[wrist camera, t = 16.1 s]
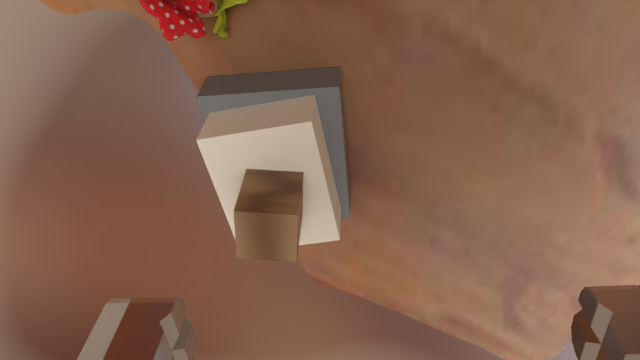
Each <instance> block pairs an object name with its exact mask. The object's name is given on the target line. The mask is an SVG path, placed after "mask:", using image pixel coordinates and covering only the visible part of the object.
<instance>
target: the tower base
mask: <svg viewBox="0 0 640 360" xmlns="http://www.w3.org/2000/svg"><path fill="white" fill-rule="evenodd" d="M311 95H315V98H316V102H317V107H318V111H319V115H320V120H321V124H322V128H323V133H324V137H325V141H326V146H327V150H328V154H329V159H330V163H331V167H332V172H333V176H334V180H335V185H336V189H337V193H338V198H339V202H340V206H341V219H347V218H350V186H349V173H348V161H347V148H346V136H345V123H344V110H343V98H342V85H341V73H340V67H328V68H314V69H301V70H287V71H274V72H261V73H247V74H234V75H220V76H208V77H207V79H206V81H205V83H204V84H203V86H202V88H201V90H200V92H199V93H198V95H197V100H198V104H199V108H200V111H201V116H202V120H203V123H205V121H206V119H207V117H208V115H209V113H212V112H217V111H223V110H229V109H235V108H241V107H247V106H253V105H259V104H264V103H270V102H276V101H282V100H288V99H294V98H300V97H306V96H311Z"/></svg>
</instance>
